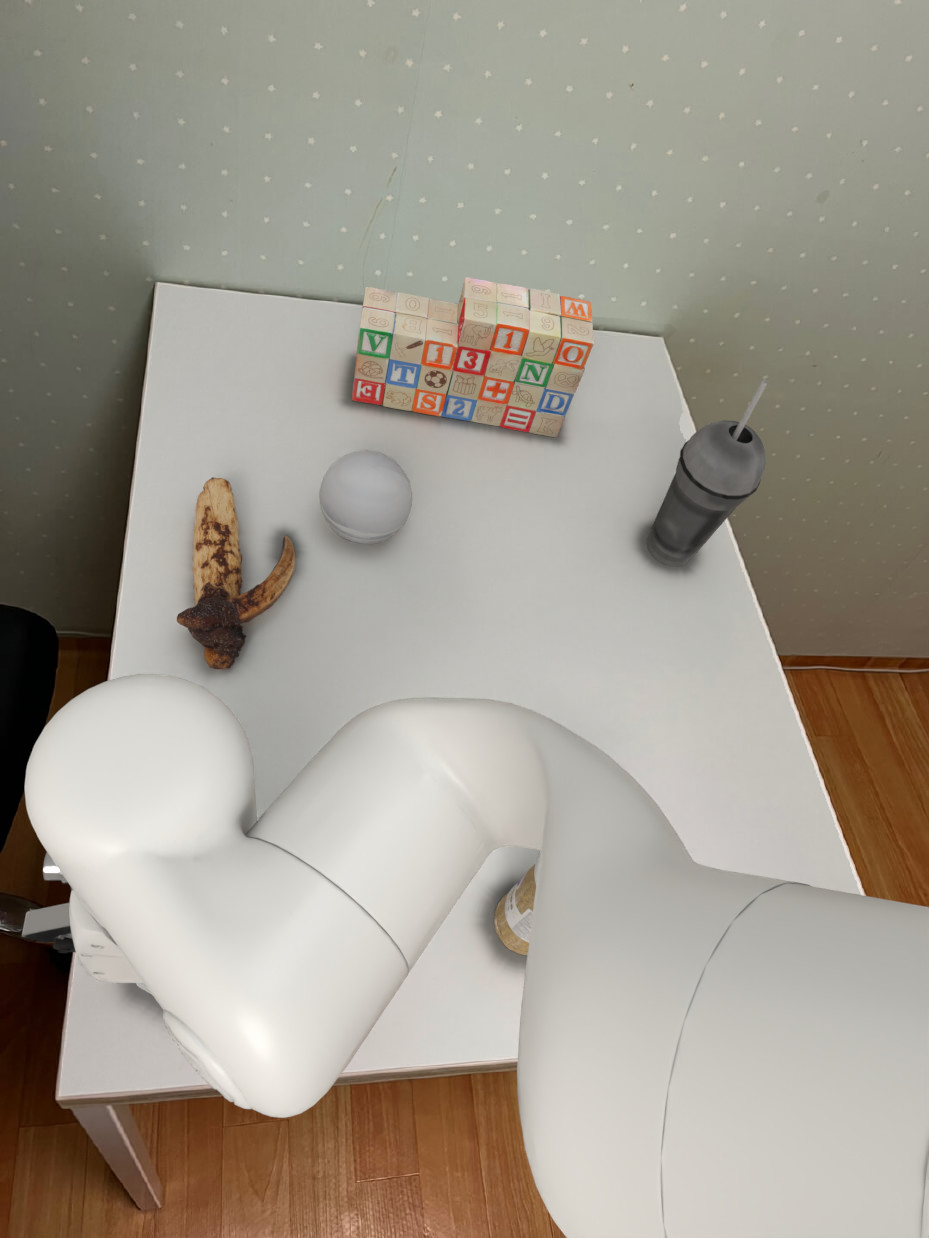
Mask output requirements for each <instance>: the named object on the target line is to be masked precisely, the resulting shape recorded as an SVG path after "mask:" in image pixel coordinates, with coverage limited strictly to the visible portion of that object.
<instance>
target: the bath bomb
mask: <svg viewBox="0 0 929 1238" xmlns="http://www.w3.org/2000/svg"><path fill="white" fill-rule="evenodd" d="M318 495H319V496H318V498H319V507H320V511H321V514H322V516H323V518H324V520H325V522H326V523H327V525H328V526H329V527H330V528H331V530H333V531H334V532H335V533H336V534H337V535H338V536H339V537H341V538H342V539H344V540H347V541H350V542H352V543H356V544H360V545H374V544H378V543H382V542H384V541H386V540H388V539H390V538H392V537H393V536H395V535H396V534H398V532H399V531H401V529H402V528H403V527H404V526H405V524H406V523H407V521H408V519H409V517H410V514H411V513H412V512H411V511H412V508H413V489H412V485H411V481H410V479H409V477H408V475H407V473H406V471H405V470H404V469H403V467H402V466H401V465H400V464H399V463H398V462H397V461H396V460H395V459H393V458H391V457H390V456H388V455H386V454H384V453H381V452H380V451H379V452H378V451H375V450H367V449H365V450H364V449H363V450H356V451H352V452H349V453H346V454H344V455H343V456H340V457H339V458H337V460H335V462H333V463H332V464H330V466H329V467H328V469H327V470H326V472H325V473H324V476H322V480H321V482H320V487H319V494H318Z"/></svg>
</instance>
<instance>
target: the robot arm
mask: <svg viewBox="0 0 929 1238" xmlns="http://www.w3.org/2000/svg"><path fill="white" fill-rule="evenodd" d="M255 779H256V778H255V765H254V757H253V752H252V748H251V744H250V739H249V738H248V734H247V732H246V730H245V728H244V726H243V724H242V723H241V721H240V719H239V718H238V716H237V715H236V714H235V712H234V711H233V710H232V709H231V707H230V706H229V705H228V704H227V703H225V701H223V700H222V698H220V697H219V696H218V695H216V694H214V692H212V691H210V690H208V689H207V688H205V687H204V686H202V685H200V684H198V683H195V682H193V681H190V680H188V679H186V678H182V677H177V676H174V675H170V674H158V673H138V674H130V675H124V676H119V677H115V678H113V679H109V680H106V681H103V682H101V683H99V684H96V685H95V686H92V687H89V688H87V689H86V690H84V691H83V692H81V693H80V694H78V695H76V696H75V697H74V698H71V699H70V700H69V701H67V703H66V704H65V705H63V706H62V707H61V708H60V709H59V710H58V711H57V712H56V713H55V714H54V715H53V716H52V717H51V718H50V720H49V721H48V722H47V724H46V725H45V726H44V727H43V729H42V731H41V733H40V734H39V736H38V738H37V739H36V741H35V743H34V745H33V747H32V751H31V752H30V755H29V758H28V761H27V765H26V769H25V778H24V799H25V807H26V813H27V815H28V819H29V821H30V824H31V826H32V828H33V830H34V832H35V833H36V836H37V838H38V840H39V842H40V843H41V846H43V848H44V849H45V852H46V853H45V856H44V860H43V865H42V876H43V880H44V881H47V882H51V881H52V882H54V881H55V882H56V881H59V882H60V881H61V883H62V884H63V885H69V886H70V891H71V892H70V896H69V902H66V903H61V904H56V905H52V906H47V907H42V908H37V909H32V910H28V911H26V913H25V918H24V922H23V928H22V932H21V938H24V939H28V940H32V941H37V942H42V943H46V944H47V943H53V945H52V948H53V949H55V950H57V952H58V953H59V954H68V953H75V954H76V956H77V959H78V961H79V963H80V964H81V966H82V968H83V969H84V970H85V972H87V973H88V974H89V975H90V976H91V977H92V978H93V979H96V980H97V981H99V982H104V983H112V984H136V983H144V984H145V985H146V986H147V988H148V989H149V991H150V992H151V994H150V995H151V996H153V998H154V999H155V1001H156V1002H157V1003H158V1005H159V1007H160V1008H161V1009H162V1019H163V1023H164V1025H165V1028H166V1029H167V1033H168V1034H169V1037H170V1038H171V1040H172V1041H174V1042H175V1043H176V1045H177V1046H178V1047H177V1048H178V1051H179V1052H180V1053H181V1055H182V1056H183V1057H184V1058H185V1060H186V1061H187V1062H188V1064H189V1065H190V1067H192V1068H193V1070H194V1071H195V1072H198V1075H199V1076H200V1077H201V1079H203V1080H204V1082H206V1084H207V1085H209V1086H210V1087H211V1088H212V1089H213V1090H217V1092H218V1093H220V1095H221V1096H223V1098H224V1099H225V1100H227V1101H228V1102H229V1103H233V1104H234V1105H235V1106H237V1107H239V1108H242V1109H243V1110H253V1111H256V1112H257V1113H260V1114H261V1115H265V1116H267V1117H271V1118H280V1119H286V1118H291V1117H294V1116H297V1115H301V1114H302V1113H304V1112H305V1111H308V1110H309V1109H310V1108H312V1107H314V1106H315V1105H316V1104H317V1103H318V1102H319V1101H320V1100H321V1099H322V1098H323V1097H324V1096H325V1095H326V1094H327V1093H328V1092H329V1091H330V1090H331V1088H332V1087H333V1085H334V1084H335V1083H336V1082H337V1080H339V1078H340V1076H341V1075H342V1073H343V1072H344V1071H345V1069H346V1068H347V1067H348V1066H349V1064H350V1062H351V1061H352V1060H353V1058H354V1056H355V1055H356V1054H357V1052H358V1050H359V1049H360V1048H361V1046H362V1045H363V1044H364V1042H365V1040H366V1038H367V1037H368V1036H369V1035H370V1033H371V1031H372V1030H373V1028H375V1027H374V1026H375V1025H376V1024H377V1022H378V1020H379V1019H380V1018H381V1016H382V1014H383V1013H384V1012H385V1010H386V1009H387V1008H388V1005H389V1004H390V1002H391V1001H392V999H393V998H394V996H395V995H397V992H398V991H399V989H400V988H401V986H402V985H403V983H404V982H405V980H406V979H407V977H408V975H409V973H410V972H411V970H412V969H413V968H414V966H415V965H416V963H417V962H418V960H419V959H420V957H421V956H422V954H423V953H424V951H425V950H426V949H427V947H428V946H429V944H430V943H431V941H432V939H433V938H434V937H435V935H436V934H437V932H438V931H439V929H440V928H441V926H442V924H443V923H444V922H445V920H446V919H447V918H448V916H449V914H451V911H453V908H454V907H455V905H456V904H457V902H458V901H459V900H460V898H461V896H462V895H463V894H464V892H465V891H466V889H467V888H468V886H469V885H470V884H471V882H472V881H473V879H474V878H475V876H476V875H477V874H478V872H479V870H480V869H481V868H482V866H483V865H484V864H485V862H486V860H487V859H488V857H489V856H490V854H492V852H493V851H495V850H497V849H500V848H505V847H515V848H516V847H517V848H518V847H519V848H525V849H531V850H537V851H540V852H539V854H540V860H539V869H538V877H537V884H536V891H535V898H534V906H533V914H532V924H531V934H530V942H529V949H528V955H526V956H527V957H526V963H525V970H524V978H523V979H524V980H523V987H522V988H523V989H522V997H521V1004H520V1005H521V1007H520V1015H519V1017H520V1018H519V1028H518V1046H517V1062H516V1063H517V1066H516V1081H517V1082H516V1085H517V1086H516V1089H517V1102H518V1103H517V1104H518V1112H519V1119H520V1126H521V1133H522V1140H523V1146H524V1151H525V1154H526V1158H527V1161H528V1164H529V1168H530V1171H531V1174H532V1178H533V1181H534V1184H535V1187H536V1190H537V1191H538V1194H539V1196H540V1198H541V1200H542V1201H543V1204H544V1206H545V1208H546V1209H547V1212H548V1214H549V1215H550V1217H551V1219H552V1221H553V1222H554V1223H555V1225H556V1226H557V1228H558V1229H559V1230H560V1231H561V1233H562V1234H563V1235H564V1236H565V1238H929V906H925V905H919V904H915V903H914V904H913V903H908V902H903V901H897V900H890V899H885V898H880V897H875V896H868V895H864V894H859V893H857V894H856V893H851V892H846V891H840V890H835V889H829V888H824V887H819V886H812V885H810V884H808V883H807V884H806V883H801V882H799V881H798V882H797V881H791V880H787V879H780V878H774V877H768V876H762V875H755V874H750V873H744V872H737V871H731V870H724V869H720V868H716V867H711V866H706V865H703V864H700V863H698V862H697V861H695V860H694V858H693V857H692V856H691V854H690V852H689V851H688V849H687V847H686V846H685V844H684V842H683V841H682V839H681V838H680V836H679V834H678V832H677V831H676V830H675V828H674V826H673V825H672V823H671V822H670V820H669V819H668V817H667V816H666V815H665V813H664V812H663V810H662V809H661V807H660V806H659V804H658V803H657V802H656V801H655V800H654V798H653V797H652V796H651V795H650V794H649V793H648V791H646V789H645V788H644V787H643V786H642V785H641V784H640V783H639V782H638V781H637V779H636V778H635V777H634V776H632V774H631V773H630V772H628V771H627V770H626V769H625V768H623V766H621V765H620V764H619V763H618V762H616V760H615V759H613V758H612V757H611V756H610V755H609V754H608V753H606V752H605V751H603V750H601V749H600V748H599V747H598V746H596V745H595V744H593V743H592V742H590V741H589V740H587V739H586V738H584V737H582V736H580V735H579V734H577V733H576V732H574V731H572V730H571V729H569V728H567V727H566V726H564V725H563V724H561V723H559V722H557V721H556V720H554V719H552V718H550V717H548V716H546V715H543V714H541V713H539V712H537V711H535V710H532V709H531V708H527V707H524V706H521V705H518V704H515V703H512V702H509V701H502V700H495V699H490V698H474V697H473V698H472V697H436V696H435V697H433V696H432V697H429V696H428V697H408V698H400V699H394V700H389V701H386V702H383V703H380V704H377V705H374V706H372V707H369V708H367V709H365V710H364V711H361V712H359V713H358V714H357V715H355V716H354V717H352V718H351V719H350V720H348V721H347V722H346V723H345V724H344V725H343V726H342V727H340V729H338V730H337V731H336V732H335V734H334V735H333V736H332V737H331V738H330V739H329V740H328V741H327V742H326V743H325V744H324V745H323V746H322V748H320V749H319V750H318V751H317V752H316V754H315V755H314V756H313V757H311V759H310V760H309V761H308V762H307V764H306V765H305V766H304V767H303V768H302V769H301V770H300V771H299V773H297V775H296V776H294V778H293V779H292V781H290V782H289V784H288V785H287V786H286V787H285V788H284V789H283V791H282V792H281V793H280V794H279V795H278V796H277V798H276V799H275V800H274V801H273V802H272V803H271V805H269V807H268V808H267V809H266V810H265V811H264V812H263V814H262V815H261V816H260V817H259V818H258V815H257V813H258V811H257V798H256V781H255Z"/></svg>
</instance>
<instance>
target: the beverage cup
mask: <svg viewBox="0 0 929 1238" xmlns="http://www.w3.org/2000/svg"><path fill="white" fill-rule="evenodd" d="M768 383H769V381H768V380H766V379H762V380H761V382H760V383H759V385H758V387H757V389H756V391H755V393H754V394H753V396H752V399H751V400H750V403H749V404H748V406H747V407H746V409H745V411H744V413H743V415H742V417H741V418H740V421H737V420H730V419H729V420H727V419H722V420H718V421H714V422H709V423H708V424H706V425H704V426H702V427H701V428H700V429H699V430H697V431H696V432H694V434H692V435H691V437H690V438H689V439H688V440H687V441H686V442H684V444H683V445H682V447H681V448H680V452H679V457H678V460H677V464H676V467H675V474H674V475H673V478H672V480H671V482H670V485H669V486H668V489H667V491H666V493H665V496H664V498H663V500H662V503H661V505H660V508H659V510H658V512H657V515H656V517H655V519H654V520H653V523H652V525H651V528H650V532H649V535H648V537H647V538H646V546H647V549H648V552H649V553H650V554H651V556H652V557H653V558H654V559H655V560H656V561H657V562H658V563H660V564H663V565H665V566H668V567H681V566H685V565H686V564H687V563H688V562H689V561H690V560H691V558H693V557H694V556H696V554H697V553H698V552H699V551H700V550H701V549H702V548H703V546H704V545H705V544H706V543H707V542H708V541H709V539H711V537H712V536H713V535H714V534H715V533H716V532H717V530H718V529H719V528H720V527H721V526H722V524H723V523H724V522H725V521H726V520H727V519H728V517H729V516H730V515H731V514H732V513H733V512H734V511H735V510H736V509H737V507H739V506H740V505H742V503H744V502H745V501H746V500H747V499H748V498H749V497H751V495H753V494H754V493H756V492H757V490H758V489H759V486H760V484H761V481H762V477H763V476H764V474H765V473H764V472H765V470H766V465H767V463H766V462H767V461H766V460H767V459H766V449H765V446H764V443H763V441H762V439H761V437H760V436H759V434H758V433H757V432H756V430H754V429H753V428H751V427H750V426H749V425H747V422H748V421H749V419H750V417H751V415H752V413H753V411H754V409H755V407H756V406H757V404H758V402H759V400H760V398H761V397H762V395H763V393H764V390H765V389H766V387H767V385H768Z"/></svg>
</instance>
